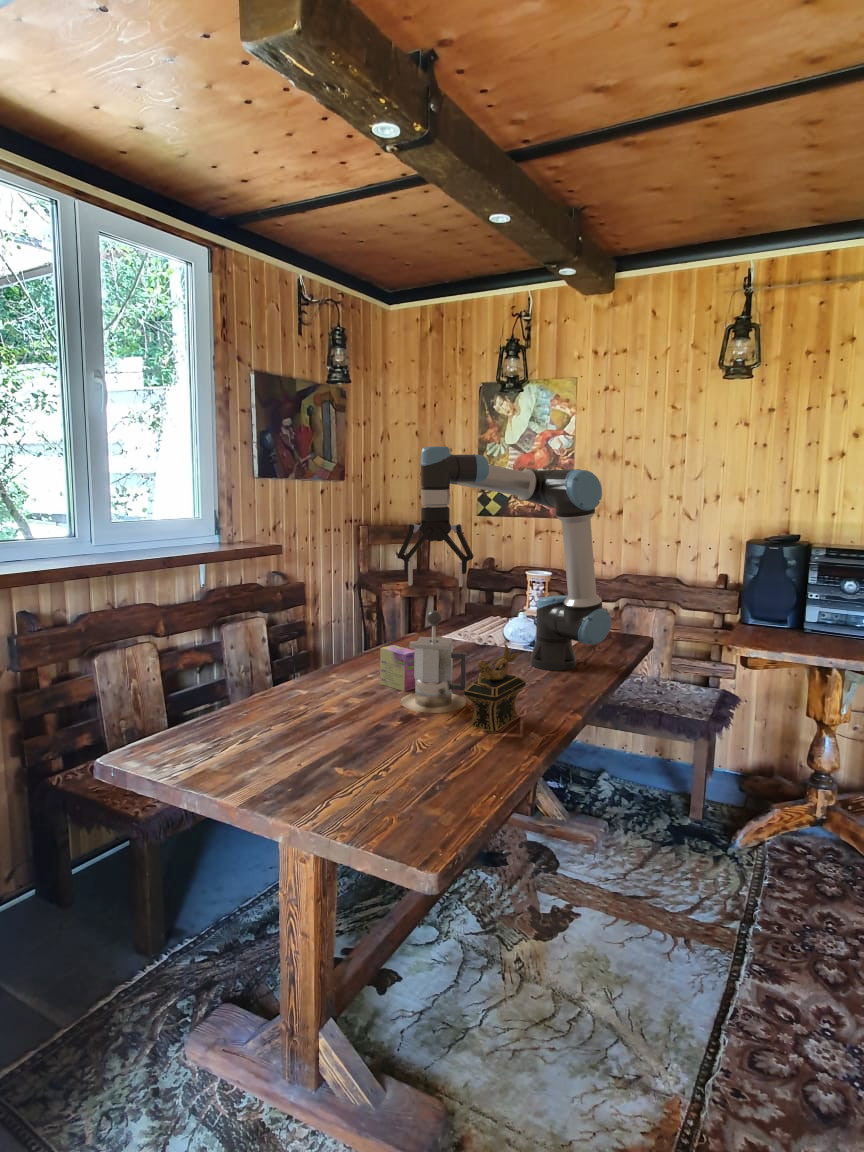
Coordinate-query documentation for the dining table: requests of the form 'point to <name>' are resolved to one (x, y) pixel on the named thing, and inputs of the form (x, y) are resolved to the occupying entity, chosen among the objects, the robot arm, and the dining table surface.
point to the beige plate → (455, 705)
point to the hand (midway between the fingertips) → (435, 585)
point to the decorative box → (494, 694)
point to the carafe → (436, 671)
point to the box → (397, 667)
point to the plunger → (433, 622)
